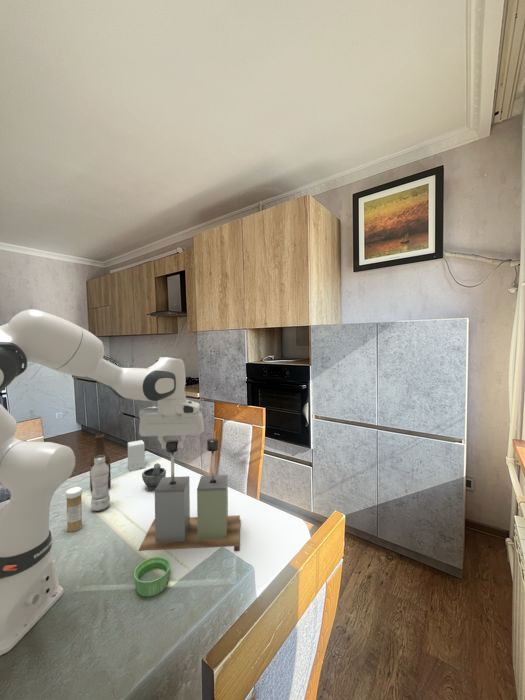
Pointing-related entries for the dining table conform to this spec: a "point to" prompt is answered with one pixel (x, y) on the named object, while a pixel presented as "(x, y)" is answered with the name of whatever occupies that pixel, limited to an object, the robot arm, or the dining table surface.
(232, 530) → the walnut board
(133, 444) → the supplement box
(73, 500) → the sprinkles bottle
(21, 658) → the dining table surface
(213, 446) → the black plunger knob
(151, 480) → the mortar and pestle
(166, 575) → the ramekin
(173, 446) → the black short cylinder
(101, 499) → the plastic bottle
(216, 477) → the olive slotted block
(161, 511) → the grey block
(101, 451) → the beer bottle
